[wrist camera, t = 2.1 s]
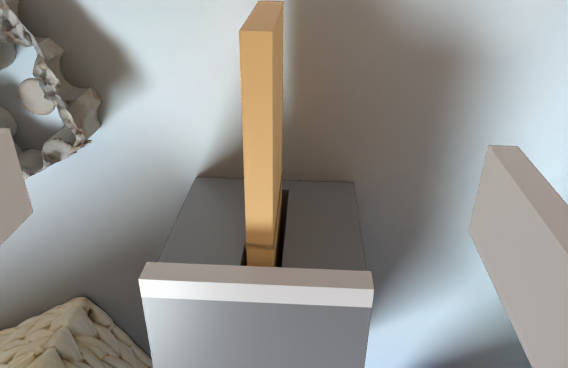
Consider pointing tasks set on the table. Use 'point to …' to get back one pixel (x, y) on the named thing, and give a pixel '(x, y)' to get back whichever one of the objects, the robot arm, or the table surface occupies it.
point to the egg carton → (46, 95)
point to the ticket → (262, 131)
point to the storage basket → (70, 340)
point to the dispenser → (260, 283)
